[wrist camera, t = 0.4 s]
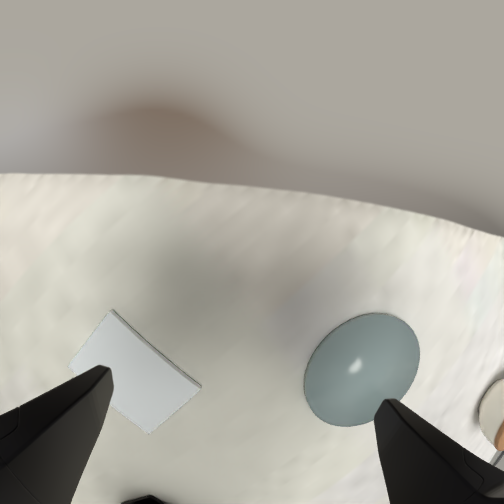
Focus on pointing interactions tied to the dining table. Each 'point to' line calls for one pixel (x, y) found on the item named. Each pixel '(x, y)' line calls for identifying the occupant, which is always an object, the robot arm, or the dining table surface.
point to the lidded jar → (493, 414)
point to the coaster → (361, 369)
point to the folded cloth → (135, 373)
